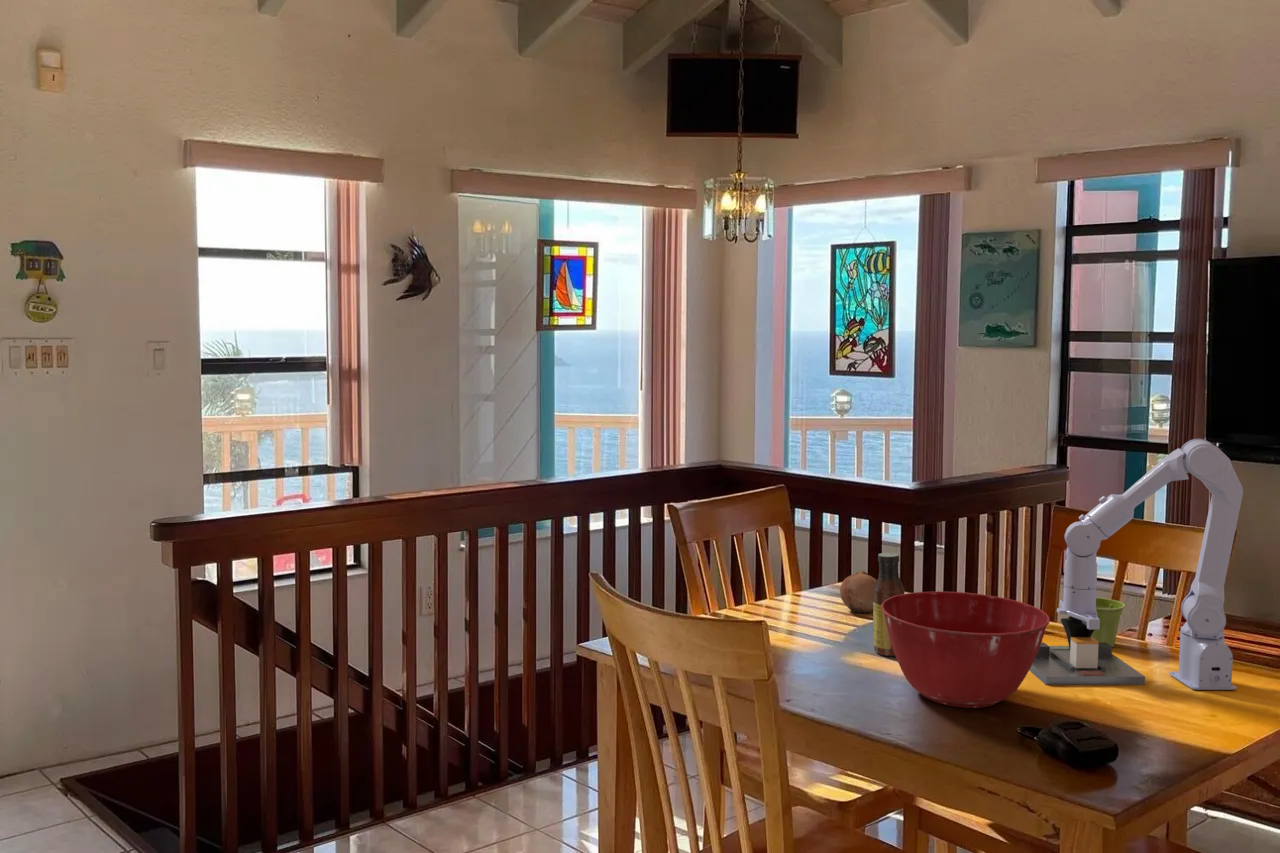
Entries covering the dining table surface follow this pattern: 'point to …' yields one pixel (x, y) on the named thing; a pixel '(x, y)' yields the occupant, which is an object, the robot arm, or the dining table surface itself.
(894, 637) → the mixing bowl
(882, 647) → the sauce bottle
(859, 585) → the onion
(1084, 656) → the white orange block
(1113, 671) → the panel
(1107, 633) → the plant pot
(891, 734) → the dining table surface
